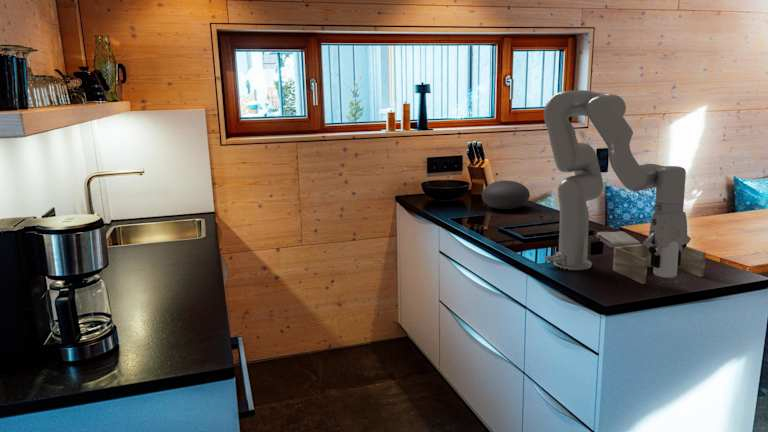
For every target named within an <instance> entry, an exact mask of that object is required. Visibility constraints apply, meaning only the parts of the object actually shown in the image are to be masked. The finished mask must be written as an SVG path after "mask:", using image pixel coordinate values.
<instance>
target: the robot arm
mask: <svg viewBox="0 0 768 432" xmlns="http://www.w3.org/2000/svg"><path fill="white" fill-rule="evenodd" d="M626 110H627V106H626V103H625V101H624V99H623V98H622V97H621V96H619V95H616V94H611V93H605V92H597V91H591V90H580V89H579V90H577V89H576V90H563V91H560V92H557V93H554V94H553V95H552V96H551V97H550V98H549V99H548V100H547V102H546V104H545V106H544V110H543V119H544V120H543V121H544V124H545V128H546V130H547V132H548V137H549V140H550V141H549V142H550V147H551V150H552V154H553V159H554V163H555V166H556V169H558V171H560V172H562V173H573V172H574V175H570V176H568V177H565V178H564V179H563V180H562V181H561V182H560V183H559V185H558V188H557V196H558V205H559V236H558V251H556V252H555V254H553V255H547V256H545V262H547V263H549V262H553V265H554V266H555V267H556V266H557V268H558V267H560V268H559V269H562V268H563V269H562V270H566V269H568V270H567V271H584V270H589V269H591V267H592V265H593V262H592V261H590V260H589V259H588V252H589V251H588V249H589V248H588V245H589V227H590V223H589V221H590V212H589V207H588V204H587V202H588V201H592V200H596V199H598V198H599V197H600V196H601V195H602V193H603V190H604V180H603V177H602V173H601V168H600V163H599V159H598V155H597V153H596V151H595V149H594V148H593V147H592V146H591V145H590V144H589V143H585V142H579V141H578V138H577V136H576V130H575V127H574V126H573V124H572V123H571V121H570V119H569V118H570V117H578V116H583V117H584V116H585V117H588V119H589V121H590V122H591V123H592V125H593V127H594V128H595V129H596V131H597V133H598V134H599V135H600V137H601V138H602V140H603V142H604V143H605V145H606V146H607V153H608V159H609V160H608V161H609V163H610V166H611V168H612V170H613V172H614V173H615V175H616V176H617V178H618V180H619V181H620V182H621V184H622V185H623V187H625V188H626V189H628V190H629V191H632V192H640V191H644V190H648V189H653V188H655V202H654V203H655V205H652V210H653V211H654V212H653V213H652V216H651V220H650V225H649V232H648V233H649V235H648V237H646V239H645V240H644V241H643V242H642V244H643V245H644V246H645V247H646V249H647V250H648V251H649V253H651V266H653V268H654V267H655V268H659V267H660V255H658V254H659V252H660V250H661V247H668V246H669V244H670V243H671V242H673V241H675V242H677V243H678V245H679V252H678V266H680V263H681V253H682V252H683V251H684V250H683V249H684V248H685V247H686V246H687V247H688V244H689V243H690V242H691V239H692V238H691V237H690V236H689V235H688V221H687V214H686V212H685V211H684V206H685V205H684V204H685V193H686V191H685V190H686V176H687V173H686V169H685V168H684V167H683V166H678V165H677V166H676V165H661V164H656V163H646V164H645V163H644V164H639V163H638V161H637V160H636V158H635V156H634V155H633V153H632V151H631V147H630V143H631V139H632V137H633V135H634V131H633V128H632V127H631V126H630V125H629V123H628V122H627V120H626V118H624V116H625V114H626ZM673 239H675V240H673ZM650 244H652V246H651V245H650ZM656 246H657V248H656ZM655 248H656V250H655Z"/></svg>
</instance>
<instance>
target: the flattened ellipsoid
mask: <svg viewBox="0 0 768 432" xmlns="http://www.w3.org/2000/svg"><path fill="white" fill-rule="evenodd" d="M530 196H531V194H530V191H529V189H528V188H527V187H526V186H525V185H524V184H523V183H520V182H518V181H514V180H505V179H504V180H497V181H494V182H492V183H490V184H488V185H487V186H486V187H484V189H483V190H482V192H481V198H482V199H481V200H482V201H483V202H484V203H485V204H486V205H488V206H489V207H490V208H491V207H492V208H494V209H497V210H501V209H510V210H515V209H518V208H520V207H523V206H524V205H525V204H527V203H528V202H529V200H530Z"/></svg>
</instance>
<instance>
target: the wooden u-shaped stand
mask: <svg viewBox="0 0 768 432" xmlns="http://www.w3.org/2000/svg"><path fill="white" fill-rule="evenodd" d="M650 245H651V246H652V244H650ZM683 250H684V251H683V252H682V253H681V263H680V266H678V267H677V269H679V270H682V271H684V272H686V273H689V274H691V275H694V276H697V277H698V278H699V277H700V278H703V277H705V268H706V256H707V252H705V251H702V250H698V249H697V248H693V247H690V246H688V245H687V246H686V247H685V248H684V249H683ZM612 260H613V261H612V270H613V272H615V273H618V274H621V275H623V276H625V277H627V278H629V279H631V280H633V281H635V282H637V283H640V284H641V285H644V284H645V285H646V284H647V273H648V268H651V267H653V266H651V253H649V251H648V250H647V249H646V247H645V246H644V245H643V243H642V244H640V245H630V246H620V247H613V259H612ZM653 268H654V267H653Z"/></svg>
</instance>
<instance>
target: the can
mask: <svg viewBox="0 0 768 432" xmlns="http://www.w3.org/2000/svg"><path fill="white" fill-rule="evenodd" d="M673 240H675V239H673ZM656 248H657V246H656ZM656 248H655V250H656ZM678 252H679V245H678V243H677V242H675V241H673V242H671V243H670V244H669V246H668V247H661V250H660V252H659V254H658V255H660V267H659V268H655V267H653V271H652V272H653V275H654V276H656V277H658V278H663V279H673V278H675V277H677V275H678V268H677V267H678Z"/></svg>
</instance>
